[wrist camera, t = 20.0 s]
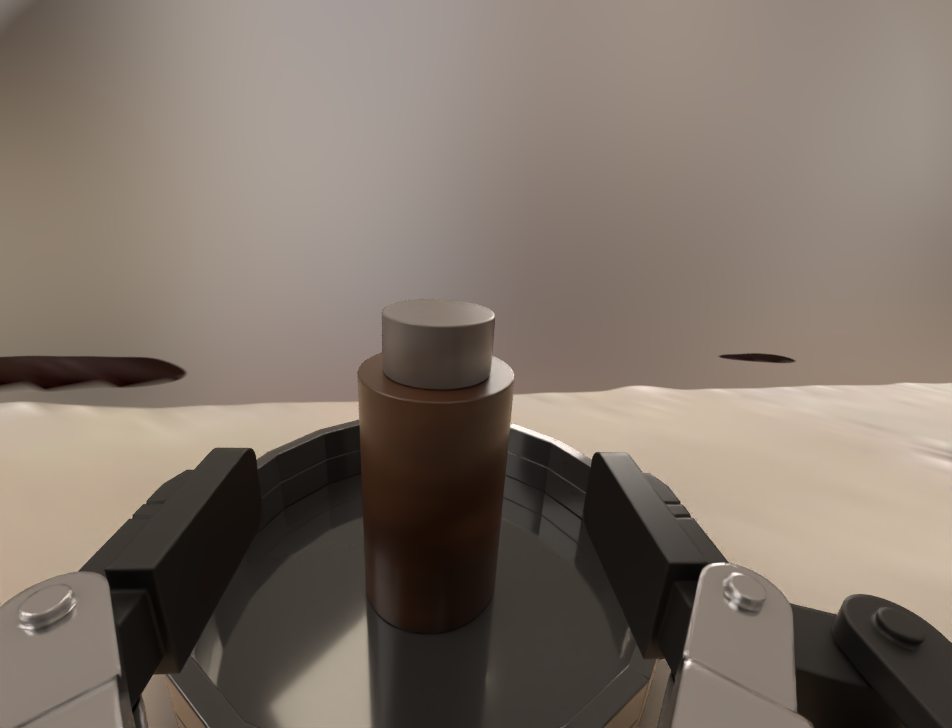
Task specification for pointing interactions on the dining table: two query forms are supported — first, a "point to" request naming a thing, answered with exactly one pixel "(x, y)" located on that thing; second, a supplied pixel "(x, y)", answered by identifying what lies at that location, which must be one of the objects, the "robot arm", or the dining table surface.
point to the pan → (402, 652)
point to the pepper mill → (433, 463)
